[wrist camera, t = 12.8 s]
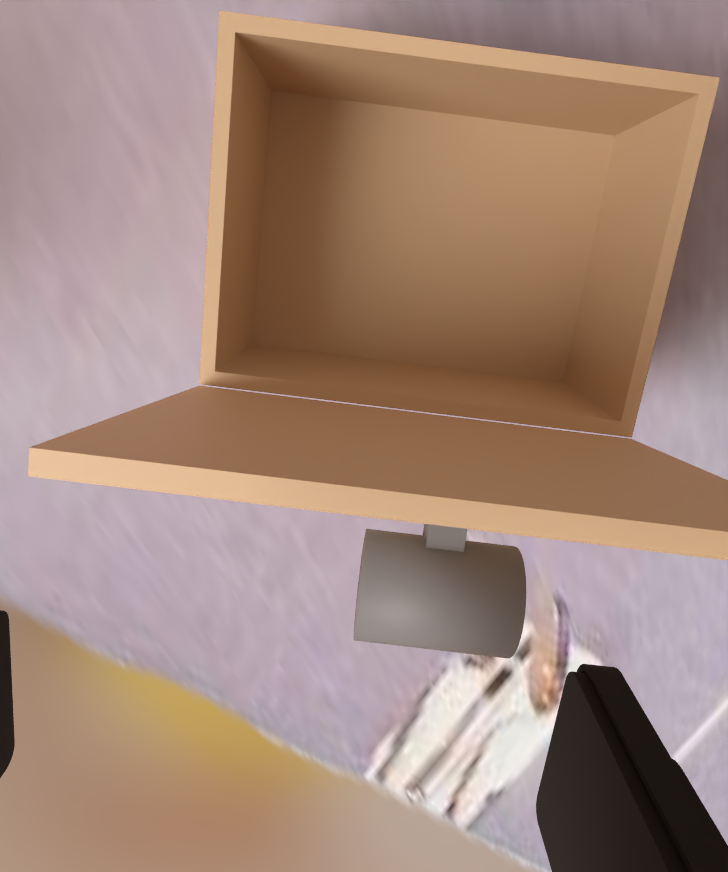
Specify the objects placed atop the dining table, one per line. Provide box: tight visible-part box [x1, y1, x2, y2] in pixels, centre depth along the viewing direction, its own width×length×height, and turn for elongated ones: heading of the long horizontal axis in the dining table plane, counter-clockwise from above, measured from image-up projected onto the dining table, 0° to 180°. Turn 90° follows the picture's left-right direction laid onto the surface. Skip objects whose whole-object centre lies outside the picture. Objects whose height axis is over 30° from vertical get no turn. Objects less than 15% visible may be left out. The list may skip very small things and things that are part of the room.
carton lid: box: [28, 386, 728, 658], centre depth 27 cm, size 18×24×6 cm
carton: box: [199, 11, 720, 437], centre depth 39 cm, size 18×24×12 cm
